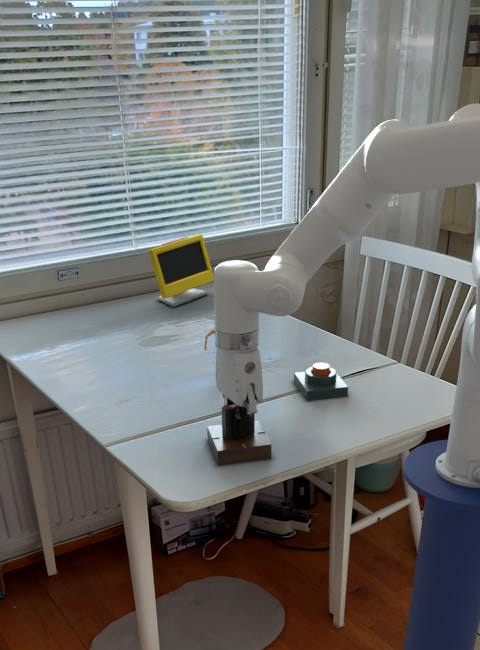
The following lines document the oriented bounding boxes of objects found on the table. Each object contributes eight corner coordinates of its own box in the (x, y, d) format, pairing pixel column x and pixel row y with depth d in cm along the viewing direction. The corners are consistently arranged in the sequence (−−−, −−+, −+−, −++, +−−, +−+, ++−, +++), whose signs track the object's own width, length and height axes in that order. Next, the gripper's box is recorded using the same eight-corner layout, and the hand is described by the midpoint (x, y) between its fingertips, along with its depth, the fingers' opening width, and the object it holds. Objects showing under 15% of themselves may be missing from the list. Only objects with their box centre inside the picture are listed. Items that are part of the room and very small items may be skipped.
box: (347, 396, 165) (348, 378, 163) (306, 401, 164) (307, 383, 162) (332, 377, 173) (333, 360, 171) (293, 382, 172) (294, 364, 170)
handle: (250, 429, 147) (250, 399, 143) (254, 433, 146) (254, 402, 142) (222, 436, 145) (221, 406, 141) (226, 440, 143) (225, 409, 140)
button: (331, 375, 165) (332, 368, 164) (315, 377, 165) (315, 369, 164) (326, 369, 168) (326, 361, 167) (310, 371, 168) (310, 363, 167)
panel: (271, 459, 144) (272, 443, 142) (217, 465, 142) (217, 450, 140) (258, 434, 152) (258, 419, 150) (206, 440, 150) (206, 425, 148)
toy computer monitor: (166, 310, 211) (162, 250, 202) (146, 304, 215) (141, 245, 206) (215, 292, 224) (213, 234, 215) (195, 286, 228) (192, 230, 219)
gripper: (279, 348, 130) (277, 446, 141) (234, 319, 142) (235, 411, 152) (239, 356, 127) (240, 456, 138) (197, 326, 139) (201, 420, 149)
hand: (237, 432), depth 145 cm, fingers closed
